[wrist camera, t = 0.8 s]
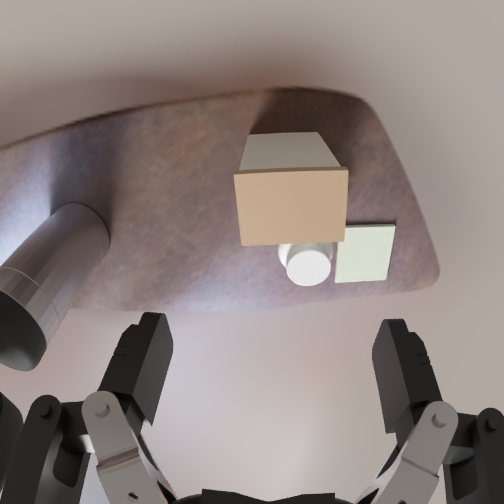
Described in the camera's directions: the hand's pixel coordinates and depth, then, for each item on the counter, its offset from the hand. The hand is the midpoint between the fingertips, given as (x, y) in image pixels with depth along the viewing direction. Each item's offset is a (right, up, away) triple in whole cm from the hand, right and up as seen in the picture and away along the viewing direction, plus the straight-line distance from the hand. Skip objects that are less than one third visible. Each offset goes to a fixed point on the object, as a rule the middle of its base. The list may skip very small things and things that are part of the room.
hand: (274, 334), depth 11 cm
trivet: (+13, +3, +27) cm, 30 cm away
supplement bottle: (+5, +7, +25) cm, 26 cm away
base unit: (+2, +13, +21) cm, 24 cm away
